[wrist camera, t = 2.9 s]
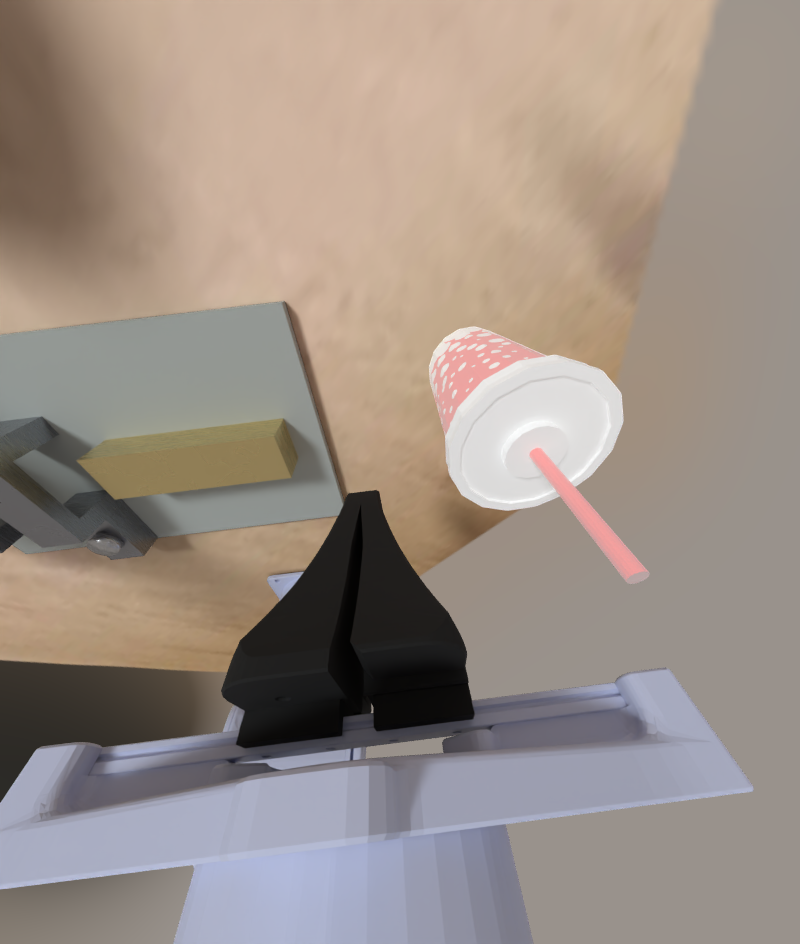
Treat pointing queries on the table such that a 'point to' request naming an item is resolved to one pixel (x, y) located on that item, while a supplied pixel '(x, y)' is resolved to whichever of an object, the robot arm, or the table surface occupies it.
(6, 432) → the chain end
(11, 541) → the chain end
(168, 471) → the link bar
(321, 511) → the mat
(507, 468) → the beverage cup
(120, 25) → the table surface
